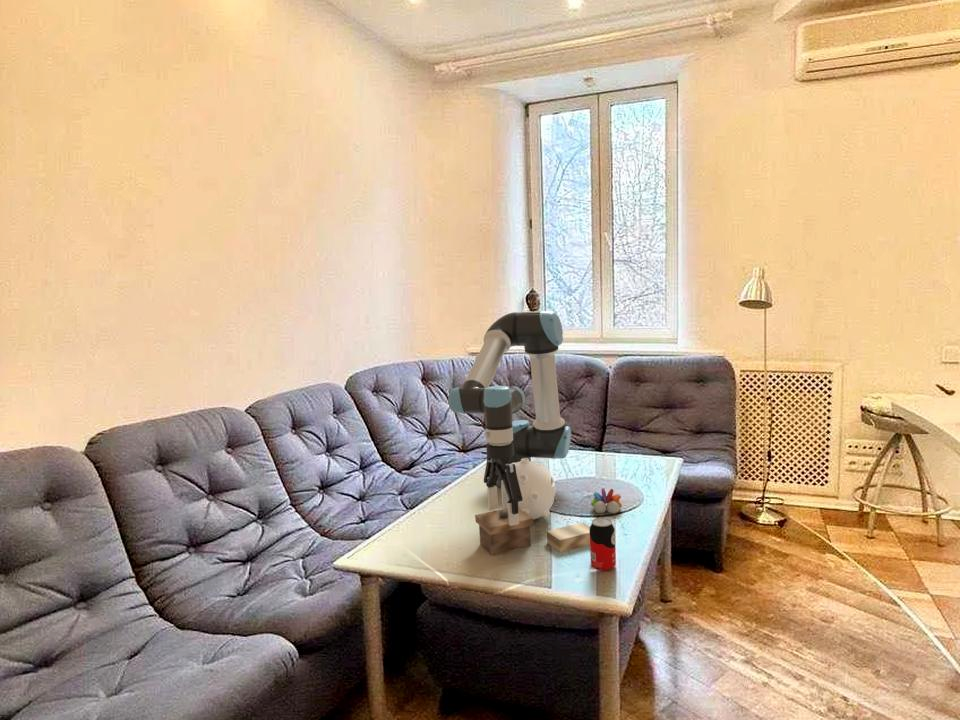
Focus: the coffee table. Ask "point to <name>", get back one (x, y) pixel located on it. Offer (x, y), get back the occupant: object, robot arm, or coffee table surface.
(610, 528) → the beverage can
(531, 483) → the decorative ball
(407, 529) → the coffee table surface
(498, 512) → the lid
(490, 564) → the coffee table surface
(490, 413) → the robot arm
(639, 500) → the coffee table surface
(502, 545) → the box
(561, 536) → the light wooden block
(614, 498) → the rainbow disc baby toy
